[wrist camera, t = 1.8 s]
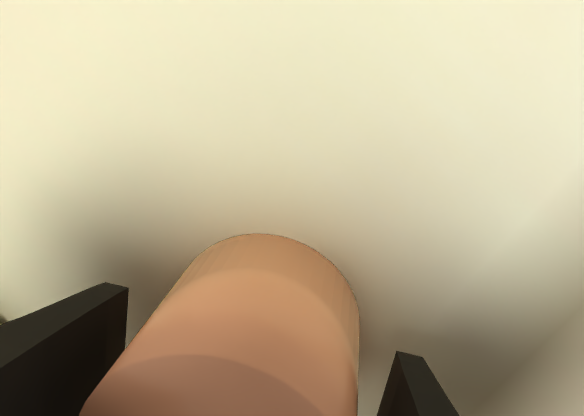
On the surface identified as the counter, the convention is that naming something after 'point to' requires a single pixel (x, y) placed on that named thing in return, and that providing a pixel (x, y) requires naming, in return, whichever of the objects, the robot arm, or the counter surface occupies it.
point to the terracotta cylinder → (243, 339)
